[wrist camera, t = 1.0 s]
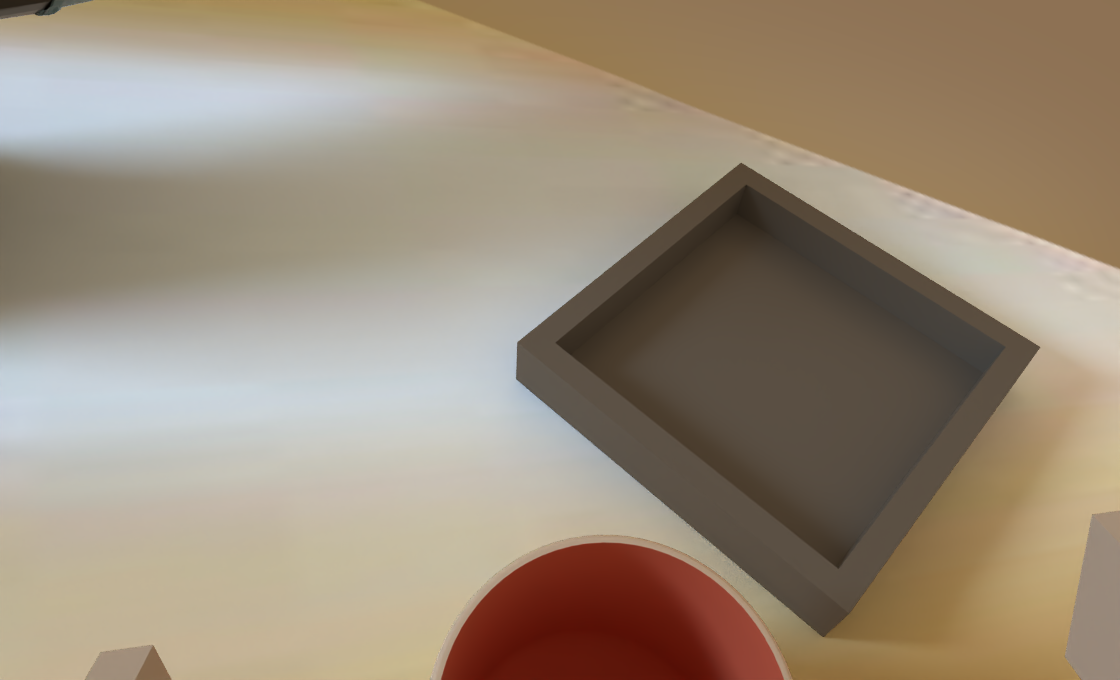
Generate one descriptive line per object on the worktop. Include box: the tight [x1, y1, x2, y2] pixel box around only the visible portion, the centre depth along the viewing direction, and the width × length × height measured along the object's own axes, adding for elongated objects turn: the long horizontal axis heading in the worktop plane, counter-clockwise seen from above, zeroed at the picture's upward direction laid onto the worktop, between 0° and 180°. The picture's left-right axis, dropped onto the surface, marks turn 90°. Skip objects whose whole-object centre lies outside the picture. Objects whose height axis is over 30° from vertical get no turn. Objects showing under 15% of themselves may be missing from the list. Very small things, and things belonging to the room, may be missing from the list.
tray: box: [516, 163, 1040, 637], centre depth 39 cm, size 17×17×3 cm
